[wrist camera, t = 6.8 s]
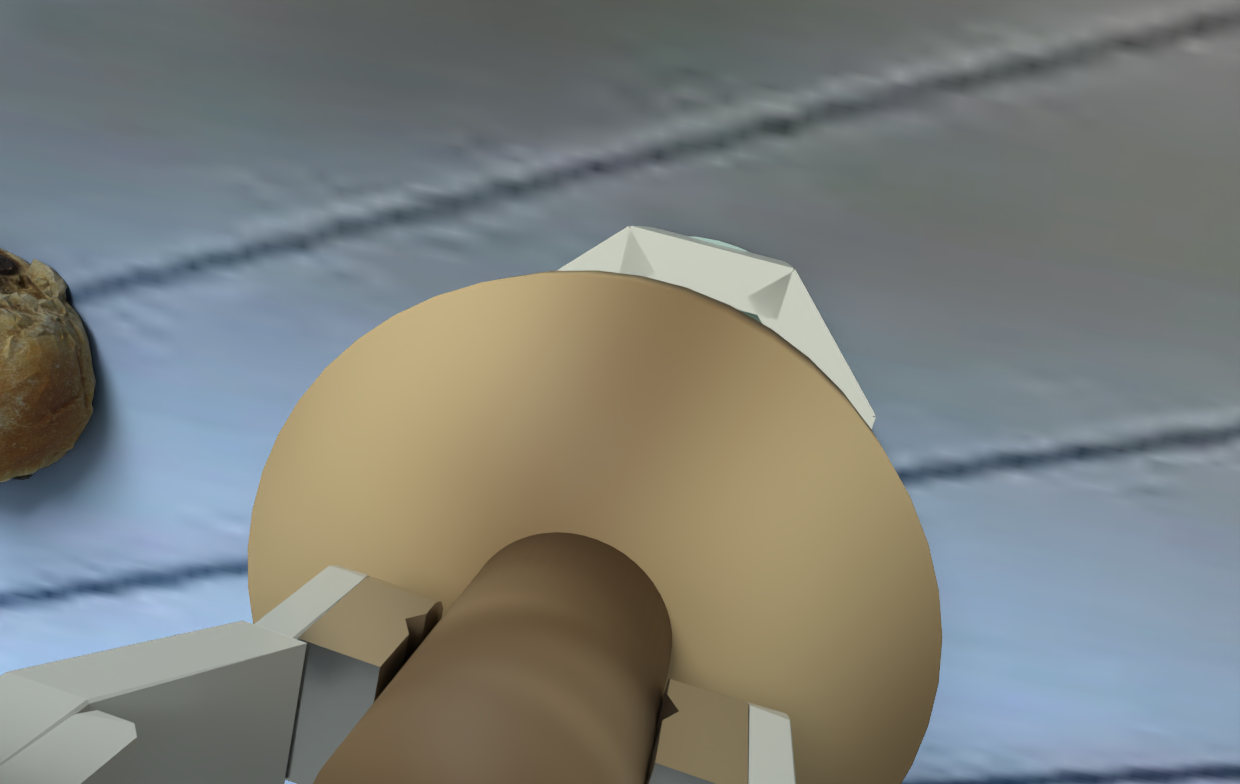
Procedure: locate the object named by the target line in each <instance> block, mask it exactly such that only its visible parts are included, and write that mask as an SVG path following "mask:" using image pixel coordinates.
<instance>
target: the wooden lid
mask: <svg viewBox="0 0 1240 784" xmlns="http://www.w3.org/2000/svg"><path fill="white" fill-rule="evenodd" d="M330 565H339V566H342V567H346V568H349V569H352V570H355V571H358V572H361V573H364V574H367V575H369V576H370V577H375V578H378V579H381V580H383V581H386V582H389V583H392V584H395V585H397V586H400V587H403V588H406V589H409V590H411V591H414V592H417V593H420V594H423V595H425V596H428V597H431V598H434V599H437V600H439V601H441V602H442V606H443V614H442V618H441V620H440V621H439V622H438V623H437V625H436V626H435V627H434V628H433V630H432V631H431V632H430V633H429V635H428V636H427V637H426V638H425V640H424V641H423V642H422V643H421V645H420V646H419V647H418V648H417V650H416V651H415V652H414V653H413V655H412V656H411V657H410V658H409V660H408V661H407V662H406V663H405V665H404V666H403V667H402V668H401V670H400V671H399V672H398V673H397V674H396V676H395V677H394V678H393V679H392V681H391V682H390V683H389V684H388V686H387V687H386V688H385V689H384V691H383V692H382V693H381V694H380V696H379V697H378V698H377V699H376V701H375V702H374V703H373V704H372V706H371V707H370V708H369V709H368V711H367V712H366V713H365V714H364V716H363V717H362V718H361V719H360V721H359V722H358V723H357V724H356V726H355V727H354V728H353V729H352V731H351V732H350V733H349V734H348V736H347V737H346V738H345V739H344V740H343V742H342V743H341V744H340V745H339V747H338V748H337V749H336V750H335V752H334V753H333V754H332V755H331V757H330V758H329V759H328V761H327V762H326V763H325V765H324V766H323V767H322V768H321V770H320V771H319V773H318V775H317V776H316V778H315V780H314V782H313V784H646V778H647V773H648V768H649V763H650V758H651V755H652V751H653V745H654V739H655V732H656V726H657V721H658V716H659V711H660V706H661V701H662V697H663V694H664V691H665V688H666V685H667V682H668V679H669V678H670V679H673V680H676V681H679V682H682V683H686V684H689V685H692V686H695V687H699V688H702V689H705V690H708V691H711V692H715V693H718V694H721V695H724V696H727V697H731V698H734V699H737V700H740V701H744V702H749V703H752V704H756V705H759V706H763V707H766V708H769V709H773V710H776V711H780V712H783V713H786V714H787V715H788V716H789V718H790V719H791V729H792V741H793V752H794V764H795V775H796V784H901V783H902V781H903V779H904V778H905V776H906V774H907V773H908V771H909V769H910V768H911V766H912V764H913V761H914V759H915V757H916V754H917V752H918V749H919V747H920V744H921V742H922V740H923V737H924V735H925V732H926V730H927V727H928V725H929V720H930V716H931V712H932V708H933V704H934V700H935V695H936V691H937V687H938V683H939V671H940V659H941V646H942V628H941V614H940V600H939V589H938V585H937V580H936V576H935V572H934V567H933V563H932V558H931V554H930V550H929V545H928V542H927V539H926V537H925V534H924V531H923V529H922V526H921V524H920V521H919V519H918V516H917V513H916V511H915V508H914V506H913V503H912V500H911V498H910V496H909V494H908V492H907V491H906V489H905V487H904V485H903V483H902V482H901V480H900V478H899V476H898V474H897V473H896V471H895V469H894V467H893V466H892V464H891V462H890V460H889V458H888V457H887V455H886V453H885V451H884V450H883V448H882V446H881V445H880V443H879V441H878V440H877V438H876V436H875V435H874V433H873V431H872V430H871V428H870V427H869V425H868V424H867V423H866V421H865V420H864V419H863V418H862V416H861V415H860V414H859V412H858V411H857V410H856V408H855V407H854V406H853V404H852V403H851V402H850V400H849V399H848V398H847V396H846V395H845V394H844V392H843V391H842V390H841V389H840V388H839V387H838V386H837V385H836V384H835V383H834V382H833V381H832V380H831V379H830V378H829V377H828V376H827V375H826V374H825V373H824V372H823V371H822V370H821V369H820V368H819V367H818V366H817V365H816V364H815V363H814V362H813V361H812V360H811V359H810V358H809V357H808V356H806V355H805V354H804V353H802V352H801V351H800V350H798V349H797V348H796V347H795V346H793V345H792V344H791V343H789V342H788V341H787V340H785V339H784V338H783V337H781V336H780V335H779V334H778V333H776V332H775V331H774V330H772V329H771V328H769V327H767V326H766V325H764V324H762V323H760V322H759V321H757V320H755V319H753V318H752V317H750V316H748V315H746V314H745V313H743V312H741V311H739V310H738V309H736V308H734V307H732V306H731V305H728V304H726V303H723V302H721V301H718V300H716V299H714V298H711V297H709V296H706V295H704V294H701V293H699V292H696V291H694V290H692V289H689V288H686V287H683V286H679V285H675V284H671V283H667V282H663V281H660V280H656V279H652V278H648V277H644V276H639V275H631V274H622V273H614V272H606V271H598V270H586V271H549V272H542V273H535V274H529V275H522V276H515V277H509V278H504V279H498V280H493V281H488V282H482V283H478V284H475V285H472V286H468V287H465V288H462V289H458V290H455V291H451V292H448V293H445V294H441V295H438V296H435V297H433V298H431V299H428V300H426V301H424V302H422V303H420V304H418V305H416V306H413V307H411V308H409V309H407V310H405V311H403V312H400V313H398V314H396V315H394V316H393V317H391V318H390V319H388V320H386V321H385V322H383V323H382V324H380V325H379V326H377V327H376V328H374V329H373V330H371V331H370V332H368V333H367V334H365V335H364V336H362V337H361V338H359V339H358V340H356V341H355V342H354V343H353V344H352V345H351V346H350V347H349V348H347V349H346V350H345V351H344V352H343V353H342V354H341V355H340V356H339V357H337V358H336V359H335V360H334V361H333V362H332V363H331V364H330V365H328V366H327V367H326V368H325V369H324V371H323V372H322V373H321V374H320V375H319V377H318V378H317V379H316V380H315V381H314V383H313V384H312V385H311V386H310V388H309V389H308V390H307V391H306V392H305V394H304V395H303V396H302V397H301V398H300V400H299V401H298V403H297V404H296V406H295V408H294V409H293V411H292V413H291V414H290V416H289V418H288V419H287V421H286V423H285V424H284V426H283V428H282V429H281V431H280V432H279V434H278V436H277V439H276V441H275V443H274V446H273V448H272V451H271V453H270V455H269V458H268V460H267V462H266V465H265V467H264V469H263V472H262V476H261V480H260V483H259V487H258V491H257V495H256V499H255V502H254V506H253V511H252V519H251V527H250V535H249V543H248V589H249V596H250V604H251V611H252V618H253V624H255V623H256V622H257V621H259V620H260V619H261V618H262V617H264V616H265V615H266V614H267V613H269V612H270V611H271V610H273V609H274V608H275V607H276V606H278V605H279V604H280V603H282V602H283V601H284V600H285V599H287V598H288V597H289V596H291V595H292V594H293V593H294V592H296V591H297V590H298V589H300V588H301V587H302V586H303V585H305V584H306V583H307V582H308V581H310V580H311V579H312V578H314V577H315V576H316V575H317V574H319V573H320V572H321V571H323V570H324V569H325V568H326V567H328V566H330Z"/></svg>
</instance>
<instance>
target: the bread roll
mask: <svg viewBox="0 0 1240 784" xmlns="http://www.w3.org/2000/svg"><path fill="white" fill-rule="evenodd" d="M67 287H68V285H67V284H65V282H64V281H63V279H62V278H61V277H60V276H59V275H58V274H57V273H56V272H55V271H54V270H53V268H51V267H49V266H47V265H45V264H43V263H41V262H40V261H38V260H36V259H34V260H33V262H32V263H31V264H29V263H27V262H26V261H25V260H23V259H22V258H20V257H18V256H16V255H14V254H12V253H10V252H7V251H5V250H3V249H1V248H0V482H5V481H9V480H10V479H12V478H13V479H22V480H24V479H29V478H30V477H31V476H32V475H33V474H35V473H36V472H37V471H38V470H39V469H41V468H45V467H49V465H51V464H52V463H55V462H56V461H58V460H60V459H61V458H62V457H63V456H64V455H65V454H66V453H67V451H68V450H71V449H73V448H74V444H75V443H76V441H77V440H78V438H79V436H80V434H81V433H82V431H83V430H84V428H85V427H86V425H87V423H88V421H89V419H90V417H91V415H92V413H93V407H92V400H93V397H94V389H95V384H96V378H95V376H94V372H93V367H92V358H91V350H90V345H89V341H88V336H87V333H86V331H85V328H84V326H83V324H82V321H81V319H80V317H79V315H78V314H77V313H76V311H75V310H74V309H73V308H72V307H71V306H70V304H69V303H68V302H67V296H66V289H67Z"/></svg>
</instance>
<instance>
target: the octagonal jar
mask: <svg viewBox="0 0 1240 784" xmlns="http://www.w3.org/2000/svg"><path fill="white" fill-rule="evenodd" d="M586 270H598V271H606V272H614V273H622V274H631V275H639V276H644V277H648V278H652V279H656V280H660V281H663V282H667V283H671V284H675V285H679V286H683V287H686V288H689V289H692V290H694V291H696V292H699V293H701V294H704V295H706V296H709V297H711V298H714V299H716V300H718V301H721V302H723V303H726V304H728V305H731V306H732V307H734V308H736V309H738V310H739V311H741V312H743V313H745V314H746V315H748V316H750V317H752V318H753V319H755V320H757V321H759V322H760V323H762V324H764V325H766V326H767V327H769V328H771V329H772V330H774V331H775V332H776V333H778V334H779V335H780V336H781V337H783V338H784V339H785V340H787V341H788V342H789V343H791V344H792V345H793V346H795V347H796V348H797V349H798V350H800V351H801V352H802V353H804V354H805V355H806V356H808V357H809V358H810V359H811V360H812V361H813V362H814V363H815V364H816V365H817V366H818V367H819V368H820V369H821V370H822V371H823V372H824V373H825V374H826V375H827V376H828V377H829V378H830V379H831V380H832V381H833V382H834V383H835V384H836V385H837V386H838V387H839V388H840V389H841V390H842V391H843V392H844V394H845V395H846V396H847V398H848V399H849V400H850V402H851V403H852V404H853V406H854V407H855V408H856V410H857V411H858V412H859V414H860V415H861V416H862V418H863V419H864V420H865V421H866V423H867V424H868V425H869V427H870V428H871V429H872V426H873V424H874V421H875V418H876V417H875V414H874V412H873V410H872V408H871V406H870V404H869V403H868V401H867V399H866V397H865V395H864V394H863V392H862V390H861V388H860V386H859V384H858V383H857V381H856V379H855V377H854V375H853V374H852V372H851V370H850V368H849V366H848V364H847V363H846V361H845V359H844V357H843V355H842V354H841V352H840V350H839V348H838V346H837V344H836V343H835V341H834V339H833V337H832V335H831V334H830V332H829V330H828V328H827V326H826V324H825V323H824V321H823V319H822V317H821V315H820V314H819V312H818V310H817V308H816V306H815V304H814V303H813V301H812V299H811V297H810V295H809V294H808V292H807V290H806V288H805V286H804V285H803V283H802V281H801V279H800V277H799V275H798V274H797V272H796V270H795V269H794V268H793V267H792V266H790V265H789V264H788V263H787V262H785V261H781V260H777V259H773V258H769V257H765V256H762V255H758V254H754V253H751V252H749V251H747V250H745V249H743V248H740V247H737V246H734V245H731V244H728V243H725V242H722V241H718V240H713V239H708V238H703V237H694V236H685V235H681V234H677V233H673V232H669V231H666V230H662V229H658V228H654V227H644V226H628V227H626V228H625V229H623V230H622V231H620V232H618V233H617V234H615V235H613V236H612V237H610V238H609V239H607V240H605V241H604V242H602V243H601V244H599V245H597V246H596V247H594V248H592V249H591V250H589V251H588V252H586V253H584V254H583V255H581V256H580V257H578V258H576V259H575V260H573V261H572V262H570V263H568V264H567V265H565V266H563V267H562V268H560V269H559V270H557V271H586Z"/></svg>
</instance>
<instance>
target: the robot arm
mask: <svg viewBox="0 0 1240 784" xmlns="http://www.w3.org/2000/svg"><path fill="white" fill-rule="evenodd" d="M442 614H443V606H442V602H441V601H439V600H437V599H434V598H431V597H428V596H425V595H423V594H420V593H417V592H414V591H411V590H409V589H406V588H403V587H400V586H397V585H395V584H392V583H389V582H386V581H383V580H381V579H378V578H375V577H370V576H369V575H367V574H364V573H361V572H358V571H355V570H352V569H349V568H346V567H342V566H339V565H330V566H328V567H326V568H325V569H324V570H323V571H321V572H320V573H319V574H317V575H316V576H315V577H314V578H312V579H311V580H310V581H308V582H307V583H306V584H305V585H303V586H302V587H301V588H300V589H298V590H297V591H296V592H294V593H293V594H292V595H291V596H289V597H288V598H287V599H285V600H284V601H283V602H282V603H280V604H279V605H278V606H276V607H275V608H274V609H273V610H271V611H270V612H269V613H267V614H266V615H265V616H264V617H262V618H261V619H260V620H259V621H257V622H256V623H255V624H251V623H248V622H245V621H239V622H234V623H229V624H225V625H220V626H216V627H211V628H206V629H202V630H197V631H193V632H188V633H183V634H179V635H174V636H170V637H165V638H160V639H156V640H151V641H147V642H142V643H138V644H133V645H128V646H124V647H119V648H115V649H110V650H105V651H101V652H96V653H92V654H87V655H82V656H78V657H73V658H69V659H64V660H59V661H55V662H50V663H46V664H41V665H37V666H32V667H27V668H23V669H18V670H14V671H9V672H6V673H4V674H3V675H1V676H0V784H284V782H285V780H288V781H291V782H294V783H297V784H313V782H314V780H315V778H316V776H317V775H318V773H319V771H320V770H321V768H322V767H323V766H324V765H325V763H326V762H327V761H328V759H329V758H330V757H331V755H332V754H333V753H334V752H335V750H336V749H337V748H338V747H339V745H340V744H341V743H342V742H343V740H344V739H345V738H346V737H347V736H348V734H349V733H350V732H351V731H352V729H353V728H354V727H355V726H356V724H357V723H358V722H359V721H360V719H361V718H362V717H363V716H364V714H365V713H366V712H367V711H368V709H369V708H370V707H371V706H372V704H373V703H374V702H375V701H376V699H377V698H378V697H379V696H380V694H381V693H382V692H383V691H384V689H385V688H386V687H387V686H388V684H389V683H390V682H391V681H392V679H393V678H394V677H395V676H396V674H397V673H398V672H399V671H400V670H401V668H402V667H403V666H404V665H405V663H406V662H407V661H408V660H409V658H410V657H411V656H412V655H413V653H414V652H415V651H416V650H417V648H418V647H419V646H420V645H421V643H422V642H423V641H424V640H425V638H426V637H427V636H428V635H429V633H430V632H431V631H432V630H433V628H434V627H435V626H436V625H437V623H438V622H439V621H440V620H441V618H442ZM646 784H796V775H795V764H794V752H793V741H792V729H791V719H790V718H789V716H788V715H787V714H786V713H783V712H780V711H776V710H773V709H769V708H766V707H763V706H759V705H756V704H752V703H749V702H744V701H740V700H737V699H734V698H731V697H727V696H724V695H721V694H718V693H715V692H711V691H708V690H705V689H702V688H699V687H695V686H692V685H689V684H686V683H682V682H679V681H676V680H673V679H670V678H669V679H668V682H667V685H666V688H665V691H664V694H663V697H662V701H661V706H660V711H659V716H658V721H657V726H656V732H655V739H654V745H653V751H652V755H651V758H650V763H649V768H648V773H647V778H646Z"/></svg>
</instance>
